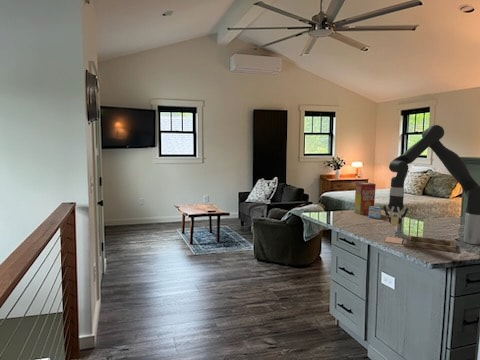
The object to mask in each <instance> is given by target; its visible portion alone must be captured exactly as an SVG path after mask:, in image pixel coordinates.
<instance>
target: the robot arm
mask: <svg viewBox="0 0 480 360" xmlns="http://www.w3.org/2000/svg"><path fill="white" fill-rule="evenodd" d="M444 136H445V129H444V128H443V126H441V125H439V124H434V125H432V126H430V127H427V128H426V129H425V130H423V131H422V134H421V138H420V139H419V140H418V141H417V142H415V143H414V144H413V145H411V146H410V147H408V149H407V150H406V151H404V152H403V154H401V155H399V156H397V157H396V158H394V159H393V160H391V161H390V163H389V165H388V169H389V171H390V172H392V173H396V176H393V177H391V179H390V189H389V198H388V199H389V200H388V201H389V202H388V204H386V205H383V210H384V214H385V216H387V217H388V223H389V224H391V216H392V214H394V213H397V215H399V223H398V224H399V225H401V224H402V218H405V217H406V214H407V213H408V210H409V209H410V208H409V207H408V206H405V205H404V197H405V180H406V177H407V174H408V172H409V164H412V163H413V162H415V161H416V159H418V158H419V157H420V156H421V155H422V154H423V153H424V152H425V151H426V150H427V149H428V148H430V149H431V151H433V153H435V155H436V156H437V157H438V159H439V160H440V162H441V164H442V165H444V167H445V169H446V170H447V171H448V172H449V174H450V175H451V176H452V178H454V179H455V180H456V181H457V182H458V184H459V185H460V187H461V188H462V190H463V191H464V193H465V195H466V197H467V205H466V208H465V217H464V228H463V242H464V243H467V244H470V245H480V185H479V183H478V182H476V180H475V179H474V178H473V177H472V175H471V173H470V171H469V169H468V167H467V165H466V164H465V162H464V160H462V158H461V157H460V155H459V154H457V153H456V152H455V151H453V150H451V149H449V148H447V147H446V146H445V145H444V144H443V143H442V142H441V141H440V140H442V138H443V137H444ZM388 209H390V212H389V213H388ZM401 211H404V212H403V214H402V212H401Z"/></svg>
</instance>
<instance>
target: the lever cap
mask: <svg viewBox="0 0 480 360" xmlns="http://www.w3.org/2000/svg"><path fill="white" fill-rule="evenodd" d="M398 223H399V215H398V213H396V212H393V213H392V216H391V223H390V227H399V226H400V224H398Z"/></svg>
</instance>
